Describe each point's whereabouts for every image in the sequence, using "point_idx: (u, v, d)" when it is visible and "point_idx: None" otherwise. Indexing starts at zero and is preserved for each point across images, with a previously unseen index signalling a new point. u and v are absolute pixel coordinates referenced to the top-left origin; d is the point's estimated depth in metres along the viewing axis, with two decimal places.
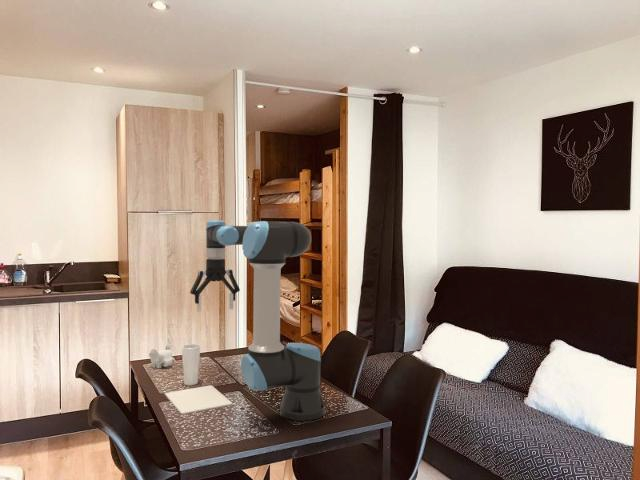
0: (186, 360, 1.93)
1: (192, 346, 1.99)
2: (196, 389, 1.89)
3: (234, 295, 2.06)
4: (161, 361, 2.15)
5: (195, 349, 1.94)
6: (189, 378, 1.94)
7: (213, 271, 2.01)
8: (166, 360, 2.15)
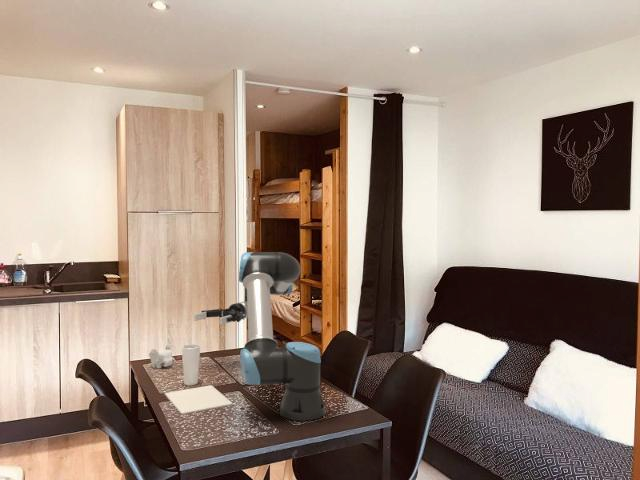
0: (186, 360, 1.93)
1: (192, 346, 1.99)
2: (196, 389, 1.89)
3: (231, 317, 2.05)
4: (161, 361, 2.15)
5: (195, 349, 1.94)
6: (189, 378, 1.94)
7: (230, 310, 2.19)
8: (166, 360, 2.15)
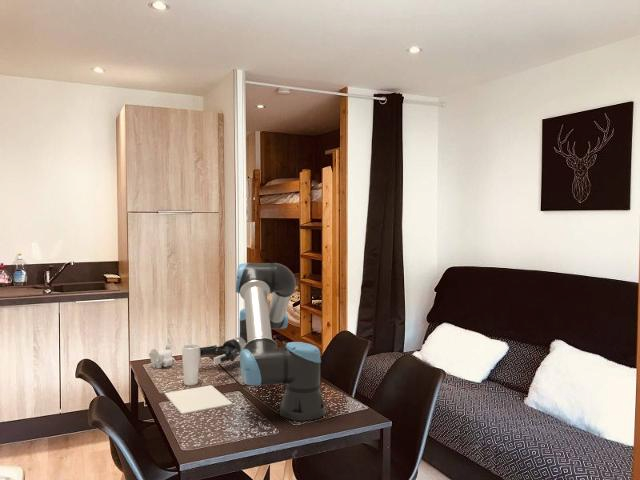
0: (186, 360, 1.93)
1: (192, 346, 1.99)
2: (196, 389, 1.89)
3: (225, 356, 2.03)
4: (161, 361, 2.15)
5: (195, 349, 1.94)
6: (189, 378, 1.94)
7: (224, 347, 2.17)
8: (166, 360, 2.15)
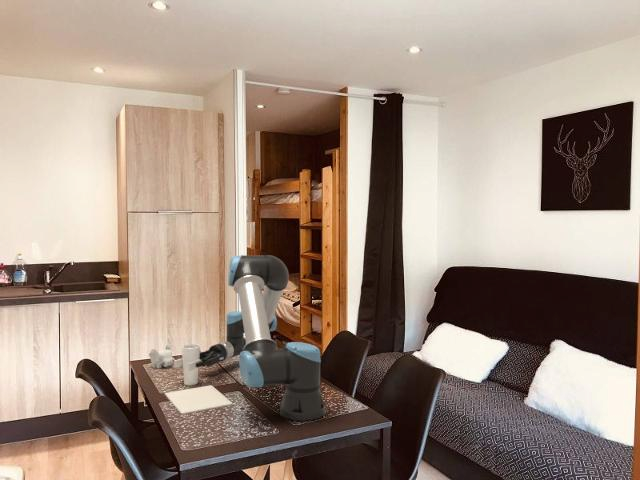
0: (186, 360, 1.93)
1: (192, 346, 1.99)
2: (196, 389, 1.89)
3: (201, 362, 1.94)
4: (161, 361, 2.15)
5: (195, 349, 1.94)
6: (189, 378, 1.94)
7: (210, 351, 2.09)
8: (166, 360, 2.15)
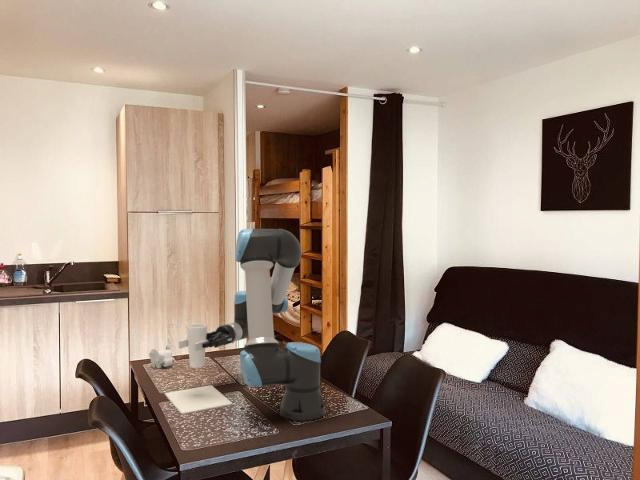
0: (192, 340, 1.78)
1: (198, 326, 1.84)
2: (196, 389, 1.89)
3: (208, 342, 1.80)
4: (161, 361, 2.15)
5: (202, 328, 1.79)
6: (195, 360, 1.79)
7: (217, 332, 1.94)
8: (166, 360, 2.15)
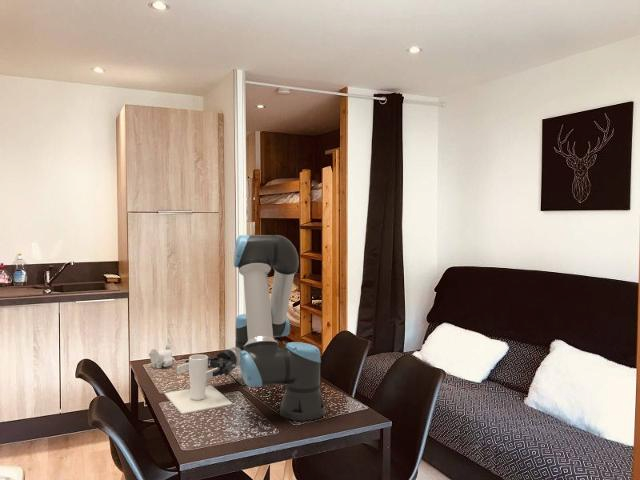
0: (193, 372, 1.76)
1: (200, 356, 1.82)
2: None
3: (218, 370, 1.77)
4: (161, 361, 2.15)
5: (203, 360, 1.77)
6: (196, 392, 1.77)
7: (218, 358, 1.91)
8: (166, 360, 2.15)
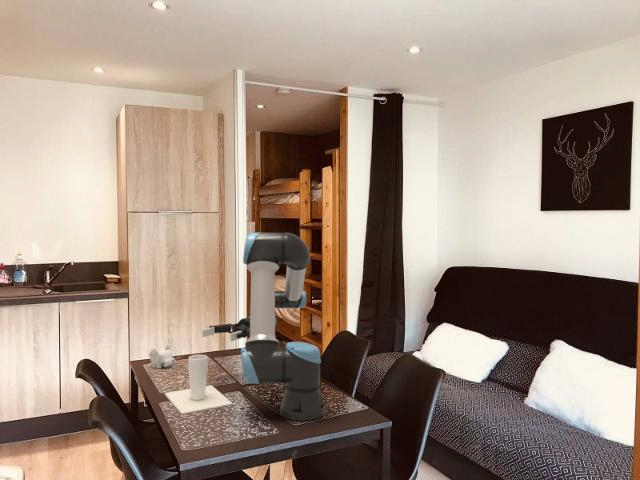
0: (193, 372, 1.76)
1: (199, 357, 1.82)
2: None
3: (242, 333, 1.89)
4: (161, 361, 2.15)
5: (203, 360, 1.77)
6: (196, 392, 1.77)
7: (239, 325, 2.03)
8: (166, 360, 2.15)
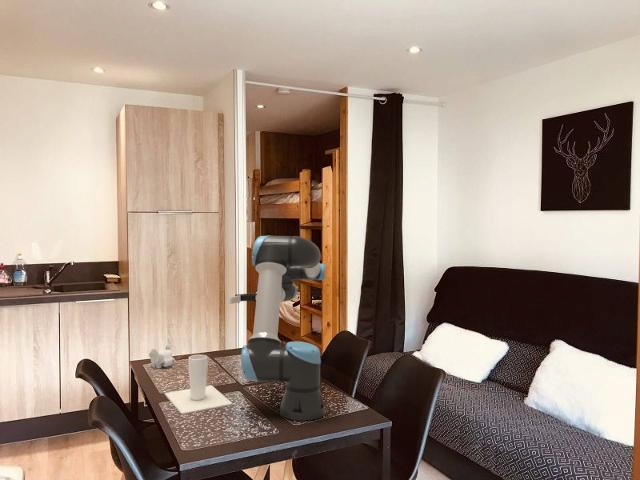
0: (193, 372, 1.76)
1: (199, 357, 1.82)
2: None
3: None
4: (161, 361, 2.15)
5: (203, 360, 1.77)
6: (196, 392, 1.77)
7: None
8: (166, 360, 2.15)
